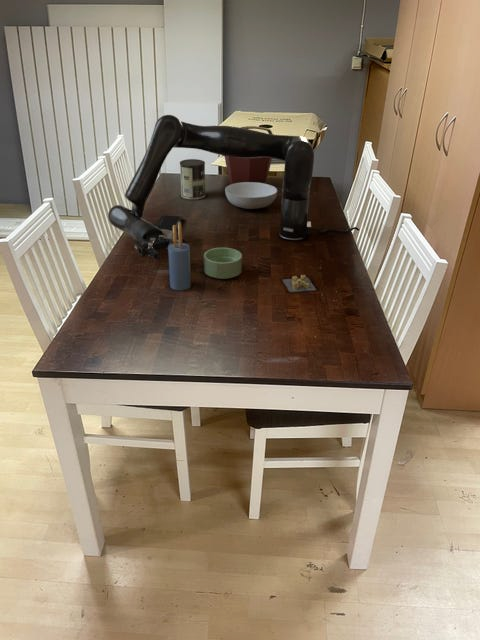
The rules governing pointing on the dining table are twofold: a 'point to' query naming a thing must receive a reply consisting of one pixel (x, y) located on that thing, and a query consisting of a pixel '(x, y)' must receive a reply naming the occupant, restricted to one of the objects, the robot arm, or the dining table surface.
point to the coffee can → (192, 179)
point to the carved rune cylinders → (298, 284)
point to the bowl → (222, 263)
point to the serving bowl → (250, 194)
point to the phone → (169, 222)
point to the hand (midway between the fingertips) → (171, 253)
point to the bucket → (248, 166)
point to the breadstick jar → (179, 262)
